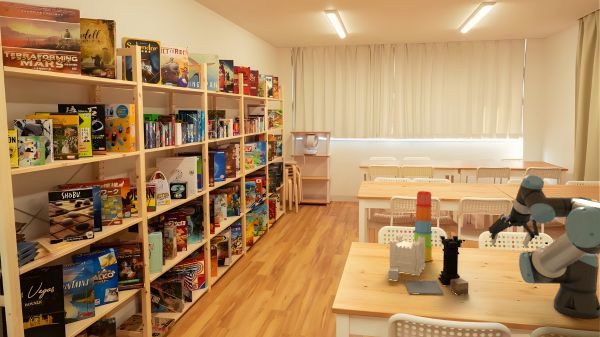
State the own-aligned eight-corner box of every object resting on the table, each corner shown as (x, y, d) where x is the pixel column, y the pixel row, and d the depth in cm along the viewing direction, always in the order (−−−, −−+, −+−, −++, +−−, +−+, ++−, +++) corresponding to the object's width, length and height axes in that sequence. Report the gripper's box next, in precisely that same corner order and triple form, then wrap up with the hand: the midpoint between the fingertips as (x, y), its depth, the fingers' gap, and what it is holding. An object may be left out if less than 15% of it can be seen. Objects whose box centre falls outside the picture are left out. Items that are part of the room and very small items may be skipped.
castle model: (388, 271, 210) (388, 241, 208) (396, 262, 222) (397, 233, 220) (418, 276, 203) (419, 244, 201) (425, 266, 215) (426, 236, 214)
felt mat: (443, 294, 182) (443, 293, 182) (409, 294, 183) (409, 292, 183) (436, 281, 196) (436, 280, 196) (403, 281, 197) (403, 280, 197)
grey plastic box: (397, 282, 197) (397, 271, 196) (388, 281, 198) (388, 270, 198) (399, 277, 202) (399, 266, 202) (390, 276, 204) (390, 265, 203)
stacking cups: (407, 257, 229) (408, 191, 225) (423, 254, 233) (424, 189, 229) (421, 263, 220) (422, 194, 215) (437, 260, 224) (438, 193, 220)
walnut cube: (468, 294, 183) (468, 282, 182) (457, 295, 181) (457, 283, 181) (460, 289, 188) (461, 278, 187) (450, 290, 186) (450, 279, 186)
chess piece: (462, 285, 191) (463, 240, 189) (443, 285, 192) (444, 240, 189) (456, 278, 199) (457, 235, 197) (438, 278, 200) (439, 235, 197)
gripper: (551, 204, 183) (535, 239, 196) (489, 200, 185) (477, 236, 198) (557, 216, 177) (541, 252, 190) (493, 213, 179) (481, 249, 192)
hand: (508, 244), depth 194 cm, fingers open, 13 cm apart
